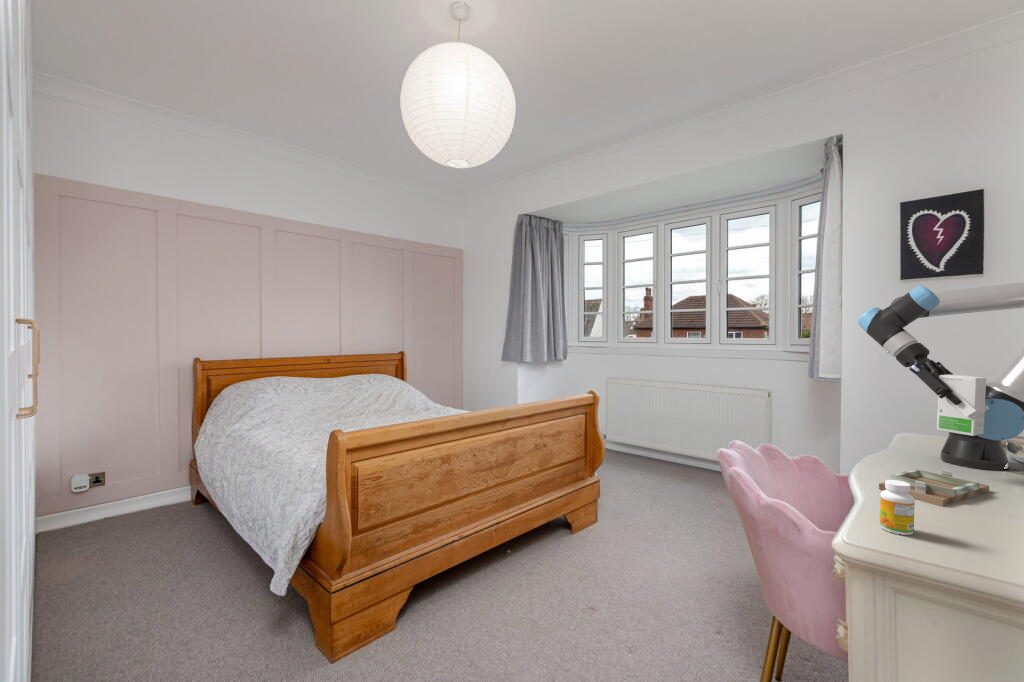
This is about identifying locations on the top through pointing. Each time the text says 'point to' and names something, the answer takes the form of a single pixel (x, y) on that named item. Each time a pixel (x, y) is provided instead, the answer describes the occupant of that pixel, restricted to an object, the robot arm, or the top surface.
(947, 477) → the board
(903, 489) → the supplement bottle
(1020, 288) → the robot arm
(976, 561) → the top surface
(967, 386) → the skincare box
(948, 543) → the top surface
